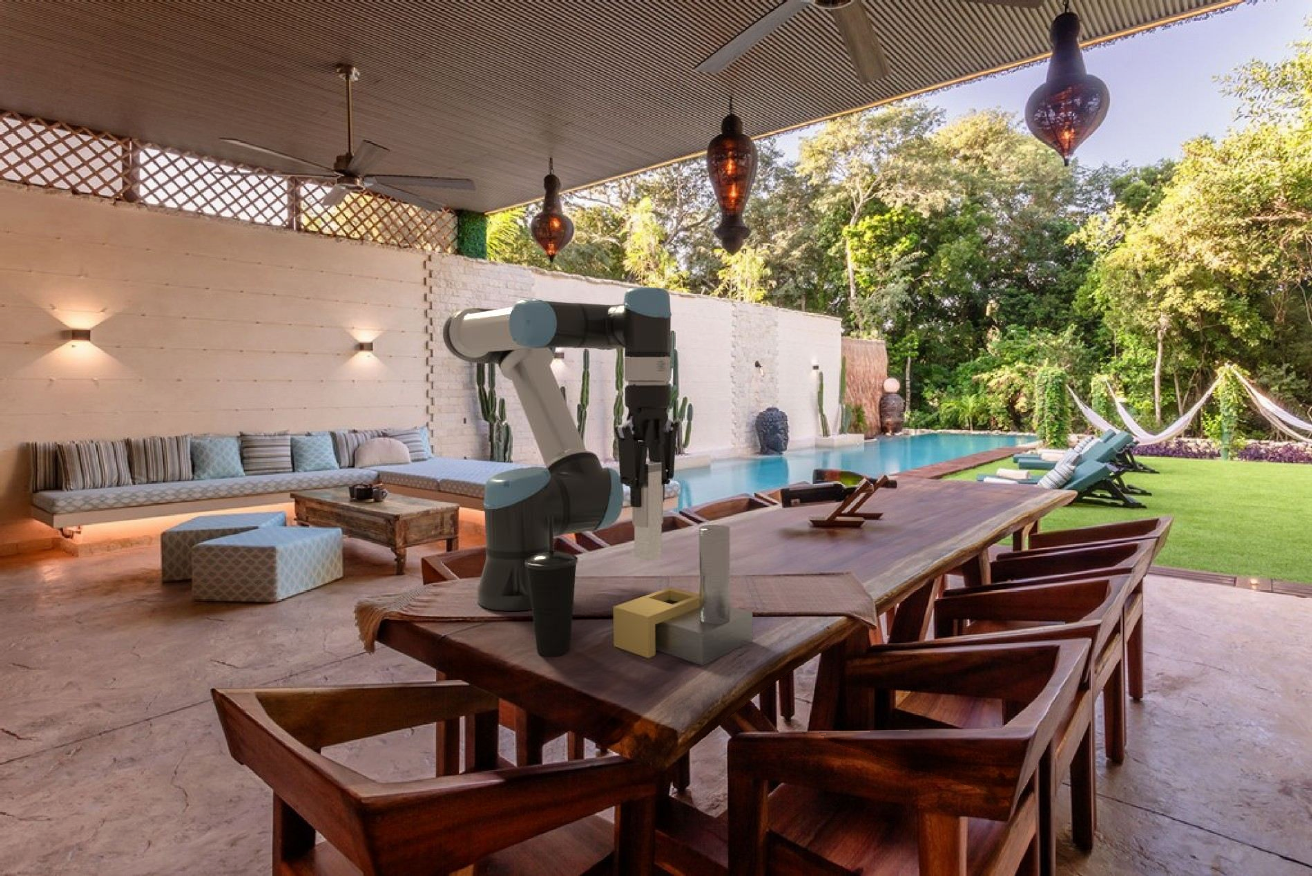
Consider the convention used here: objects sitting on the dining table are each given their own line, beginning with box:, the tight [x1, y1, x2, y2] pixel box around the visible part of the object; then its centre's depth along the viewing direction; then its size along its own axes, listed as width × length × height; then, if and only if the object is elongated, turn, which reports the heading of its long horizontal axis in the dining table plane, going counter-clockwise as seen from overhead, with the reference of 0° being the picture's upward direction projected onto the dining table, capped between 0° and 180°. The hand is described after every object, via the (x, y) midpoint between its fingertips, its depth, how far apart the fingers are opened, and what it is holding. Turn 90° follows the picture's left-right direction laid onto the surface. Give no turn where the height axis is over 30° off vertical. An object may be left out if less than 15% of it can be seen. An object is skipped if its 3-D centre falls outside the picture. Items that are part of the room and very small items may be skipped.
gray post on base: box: [655, 524, 753, 666], centre depth 106 cm, size 15×12×18 cm
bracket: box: [612, 586, 700, 659], centre depth 107 cm, size 7×13×6 cm, turn 138°
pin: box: [633, 460, 662, 561], centre depth 118 cm, size 3×3×16 cm
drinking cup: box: [525, 516, 579, 658], centre depth 103 cm, size 8×8×20 cm
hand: (647, 523), depth 118 cm, fingers closed on pin, 3 cm apart
